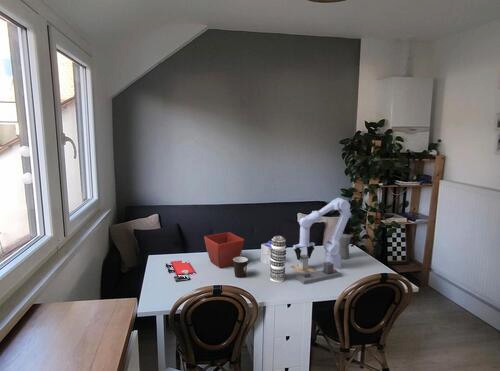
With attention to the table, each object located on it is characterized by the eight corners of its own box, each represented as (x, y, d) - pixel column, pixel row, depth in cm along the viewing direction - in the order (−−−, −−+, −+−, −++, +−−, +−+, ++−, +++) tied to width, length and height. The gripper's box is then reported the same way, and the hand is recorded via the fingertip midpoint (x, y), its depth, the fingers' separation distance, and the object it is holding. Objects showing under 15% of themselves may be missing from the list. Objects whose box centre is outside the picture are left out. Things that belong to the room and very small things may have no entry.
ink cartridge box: (277, 264, 217) (277, 242, 215) (270, 266, 214) (271, 244, 212) (266, 260, 225) (267, 239, 223) (260, 262, 221) (260, 240, 219)
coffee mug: (236, 279, 194) (237, 263, 192) (230, 274, 202) (230, 258, 200) (254, 276, 199) (255, 259, 198) (248, 270, 207) (248, 255, 205)
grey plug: (304, 266, 213) (304, 254, 212) (308, 268, 210) (308, 256, 209) (298, 267, 212) (299, 255, 210) (302, 269, 208) (302, 257, 207)
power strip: (331, 272, 207) (331, 266, 206) (340, 277, 200) (340, 271, 199) (295, 279, 195) (295, 274, 195) (303, 285, 188) (303, 279, 188)
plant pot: (244, 264, 216) (245, 239, 214) (218, 271, 206) (218, 244, 203) (229, 255, 232) (229, 231, 229) (203, 261, 221) (203, 236, 218)
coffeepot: (335, 259, 227) (337, 233, 225) (331, 254, 237) (332, 229, 234) (358, 259, 229) (359, 233, 226) (353, 254, 238) (354, 229, 235)
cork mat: (305, 264, 219) (305, 263, 219) (317, 271, 208) (317, 270, 208) (289, 267, 213) (289, 266, 213) (300, 274, 203) (300, 273, 203)
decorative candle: (273, 274, 202) (274, 233, 198) (288, 278, 197) (289, 236, 194) (266, 280, 194) (267, 237, 191) (281, 283, 190) (282, 240, 186)
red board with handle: (172, 283, 189) (198, 279, 195) (172, 278, 189) (198, 274, 195) (164, 264, 217) (187, 261, 222) (164, 260, 216) (187, 257, 222)
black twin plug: (328, 274, 203) (329, 261, 202) (332, 277, 200) (333, 264, 198) (323, 275, 201) (323, 262, 200) (327, 278, 198) (328, 265, 197)
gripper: (310, 234, 214) (309, 254, 216) (290, 236, 208) (290, 258, 210) (317, 237, 208) (316, 258, 210) (297, 240, 202) (296, 262, 204)
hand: (303, 258), depth 210 cm, fingers open, 7 cm apart
